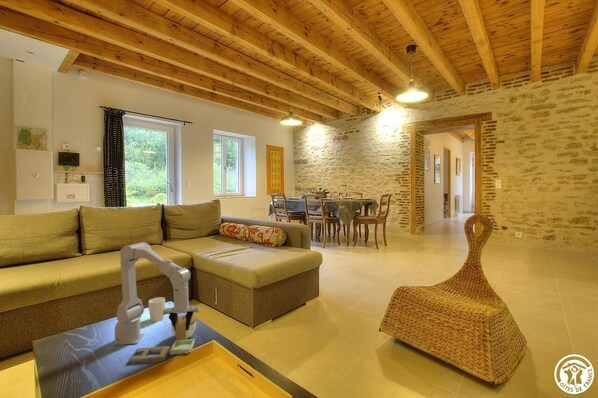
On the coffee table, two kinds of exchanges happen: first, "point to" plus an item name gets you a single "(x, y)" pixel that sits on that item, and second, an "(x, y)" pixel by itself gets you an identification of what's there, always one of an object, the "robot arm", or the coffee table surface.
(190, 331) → the lidded jar
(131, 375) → the coffee table surface
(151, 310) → the white cup
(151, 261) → the robot arm
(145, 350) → the grey rectangular frame
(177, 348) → the parts tray
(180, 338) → the upright wooden block
